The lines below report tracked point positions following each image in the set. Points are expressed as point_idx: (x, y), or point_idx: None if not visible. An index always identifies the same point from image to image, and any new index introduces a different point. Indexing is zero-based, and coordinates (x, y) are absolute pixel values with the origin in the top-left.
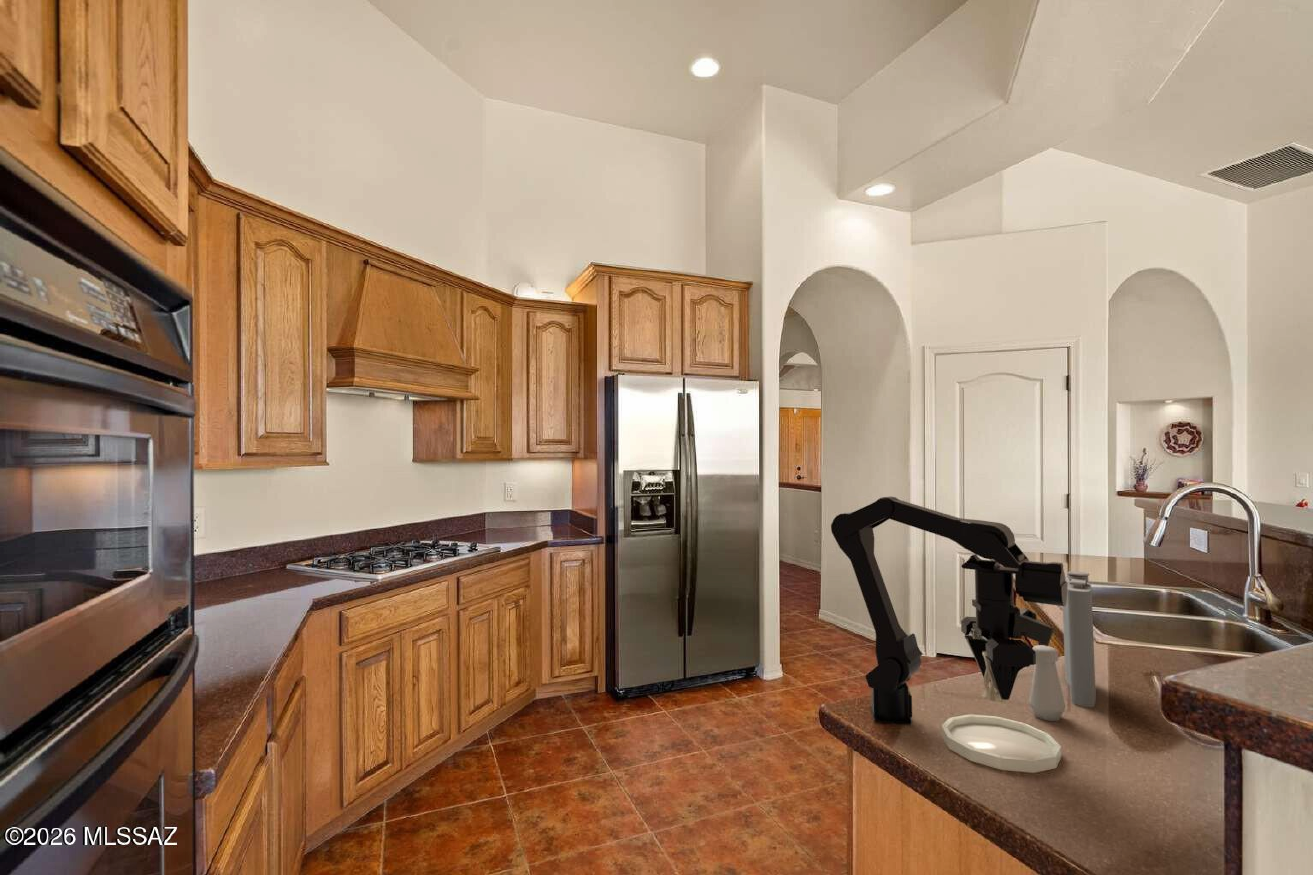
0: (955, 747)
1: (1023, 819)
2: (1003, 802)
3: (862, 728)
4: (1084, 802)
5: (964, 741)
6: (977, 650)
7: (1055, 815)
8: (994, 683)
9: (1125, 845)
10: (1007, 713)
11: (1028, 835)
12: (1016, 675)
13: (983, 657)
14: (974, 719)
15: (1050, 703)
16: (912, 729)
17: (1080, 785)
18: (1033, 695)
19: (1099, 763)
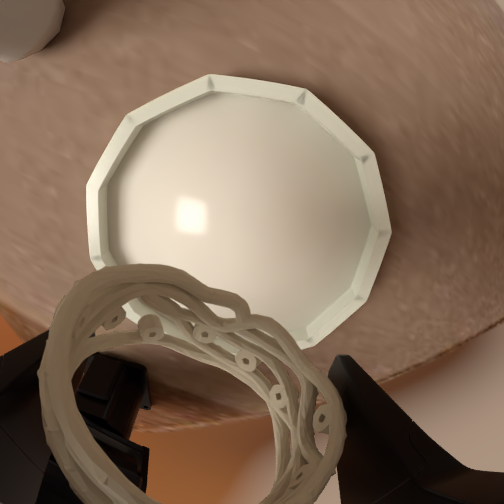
0: None
1: (480, 317)
2: (446, 326)
3: (180, 423)
4: (481, 194)
5: (230, 315)
6: (32, 466)
7: (490, 269)
8: (313, 437)
9: None
10: (26, 117)
11: (498, 324)
12: (442, 450)
13: (37, 425)
14: (104, 247)
15: (39, 11)
16: (163, 369)
17: (437, 150)
18: (3, 51)
19: (331, 14)
